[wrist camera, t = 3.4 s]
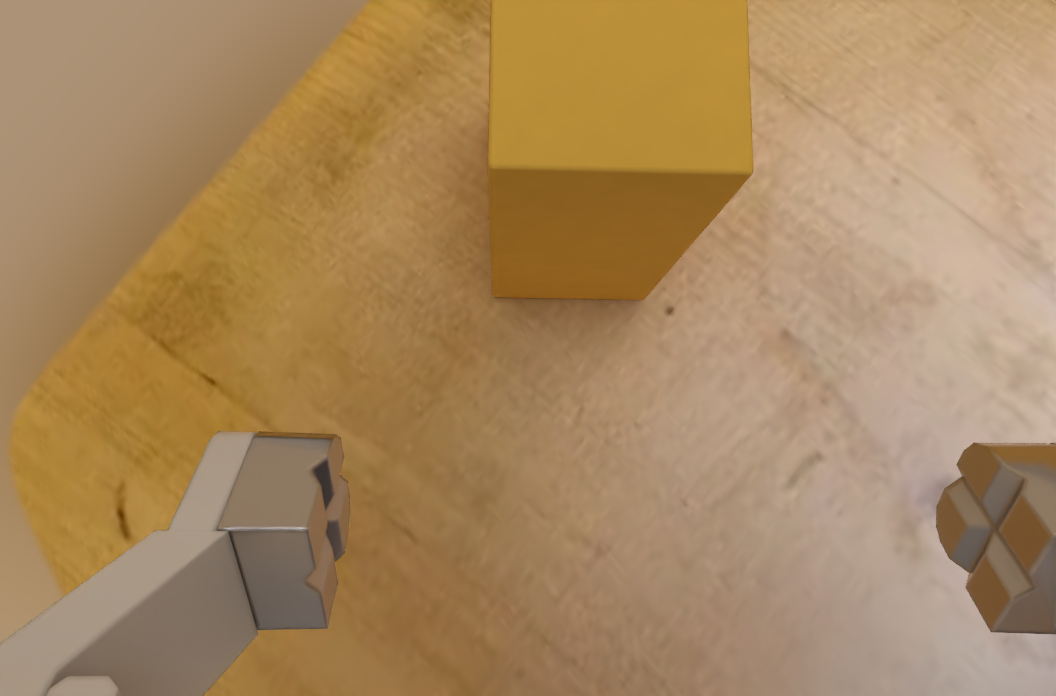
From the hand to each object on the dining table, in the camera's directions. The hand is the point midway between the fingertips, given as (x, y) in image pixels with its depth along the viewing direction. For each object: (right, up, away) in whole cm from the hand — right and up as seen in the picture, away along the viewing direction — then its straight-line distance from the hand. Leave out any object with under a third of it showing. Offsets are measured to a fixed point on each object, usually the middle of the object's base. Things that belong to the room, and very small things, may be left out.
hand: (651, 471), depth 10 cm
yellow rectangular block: (0, +6, +13) cm, 14 cm away
